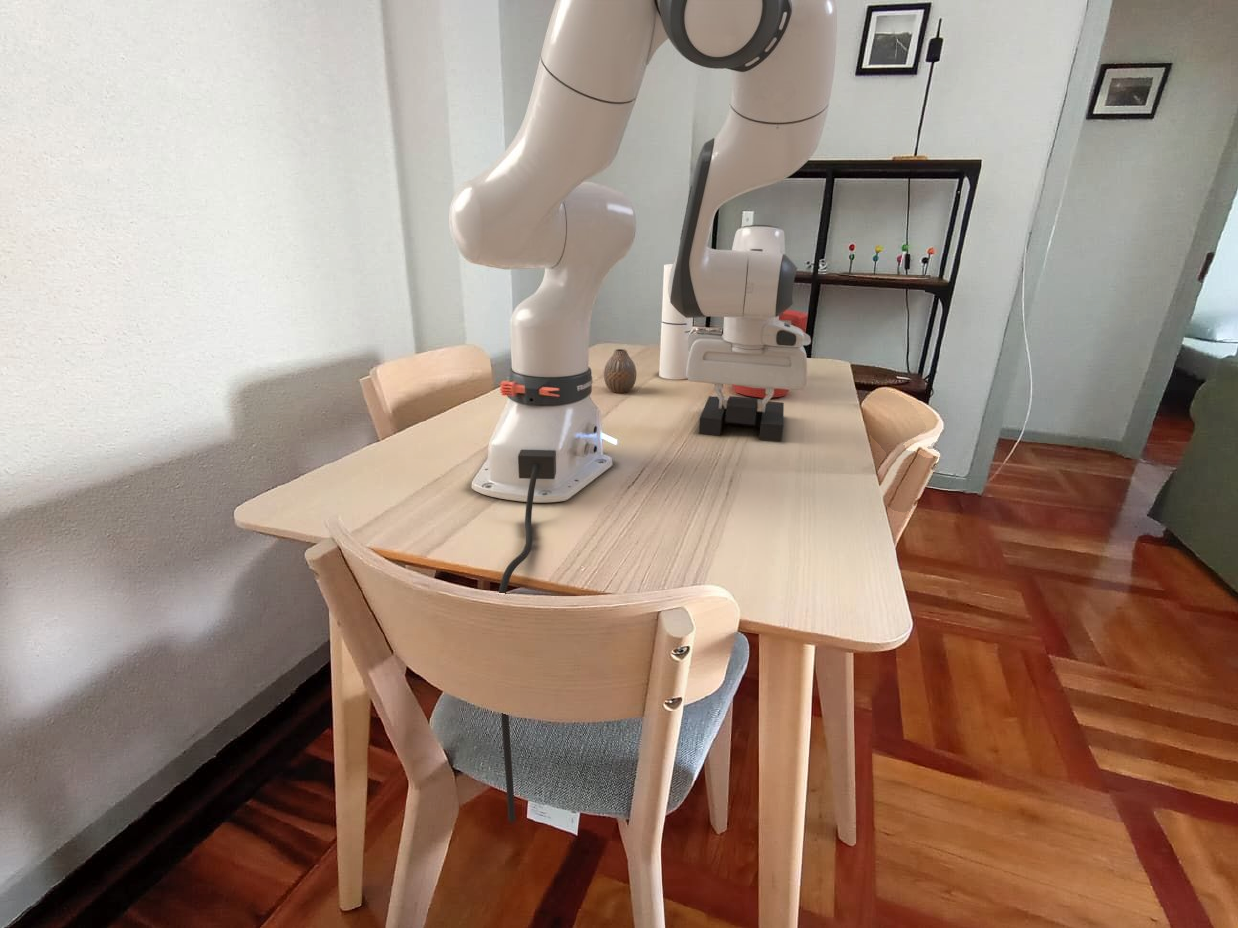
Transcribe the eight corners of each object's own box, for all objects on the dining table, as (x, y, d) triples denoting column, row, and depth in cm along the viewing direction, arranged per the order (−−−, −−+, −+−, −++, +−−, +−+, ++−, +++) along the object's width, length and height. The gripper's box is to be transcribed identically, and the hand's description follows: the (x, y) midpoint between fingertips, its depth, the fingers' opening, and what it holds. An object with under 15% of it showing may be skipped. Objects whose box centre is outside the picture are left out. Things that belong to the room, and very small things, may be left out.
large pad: (781, 442, 103) (783, 425, 102) (698, 433, 106) (699, 417, 105) (781, 417, 115) (783, 402, 114) (707, 411, 119) (709, 396, 117)
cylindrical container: (654, 373, 147) (659, 264, 137) (682, 371, 149) (688, 264, 139) (665, 380, 140) (671, 266, 131) (694, 378, 142) (701, 266, 133)
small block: (754, 425, 104) (756, 408, 103) (725, 422, 105) (726, 405, 104) (756, 414, 109) (757, 398, 108) (728, 412, 110) (729, 396, 109)
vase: (637, 387, 134) (638, 347, 131) (634, 395, 128) (635, 354, 124) (605, 385, 135) (606, 346, 131) (602, 394, 128) (602, 352, 125)
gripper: (685, 329, 100) (680, 409, 106) (813, 337, 96) (802, 420, 101) (690, 323, 106) (685, 399, 111) (812, 330, 102) (800, 410, 107)
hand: (741, 410), depth 106 cm, fingers closed on small block, 5 cm apart
